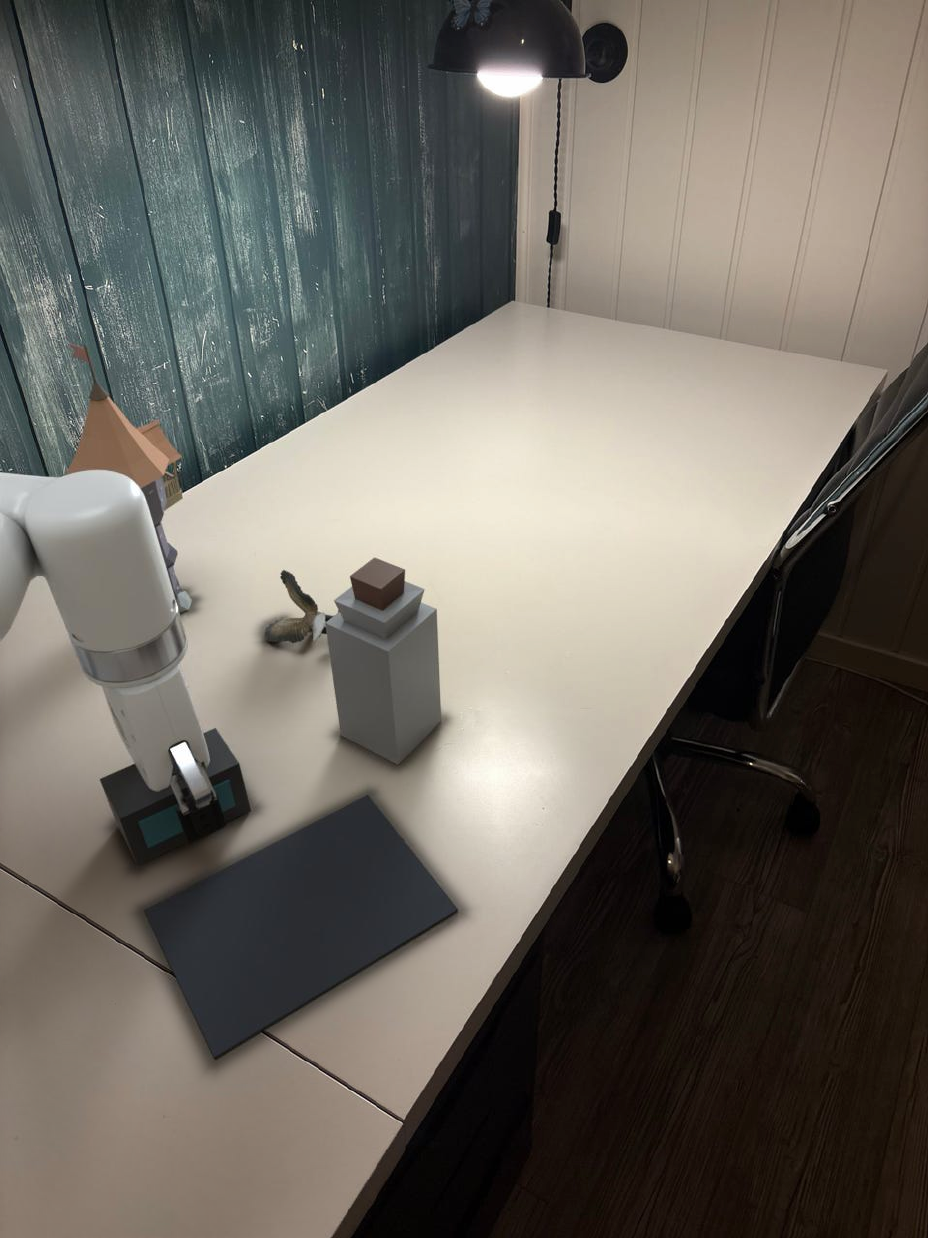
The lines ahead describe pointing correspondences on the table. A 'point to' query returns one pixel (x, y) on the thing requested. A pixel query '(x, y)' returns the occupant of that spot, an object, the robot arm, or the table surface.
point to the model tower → (131, 462)
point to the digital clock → (170, 801)
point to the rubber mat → (294, 921)
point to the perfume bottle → (385, 662)
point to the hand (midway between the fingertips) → (184, 794)
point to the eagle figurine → (297, 627)
